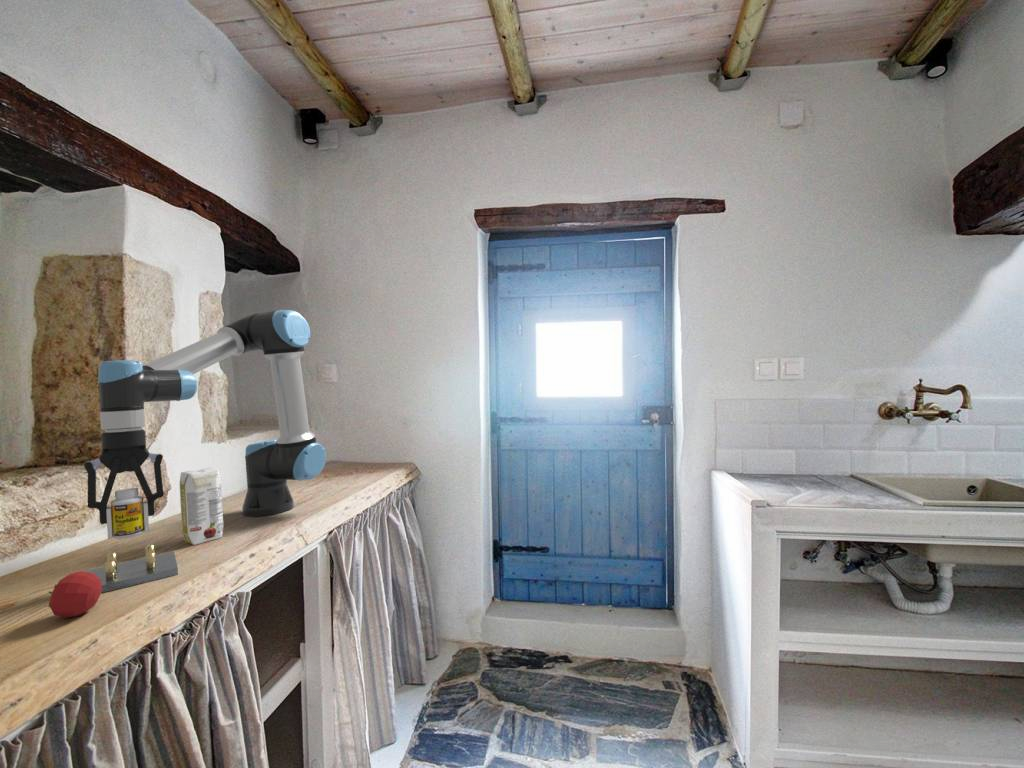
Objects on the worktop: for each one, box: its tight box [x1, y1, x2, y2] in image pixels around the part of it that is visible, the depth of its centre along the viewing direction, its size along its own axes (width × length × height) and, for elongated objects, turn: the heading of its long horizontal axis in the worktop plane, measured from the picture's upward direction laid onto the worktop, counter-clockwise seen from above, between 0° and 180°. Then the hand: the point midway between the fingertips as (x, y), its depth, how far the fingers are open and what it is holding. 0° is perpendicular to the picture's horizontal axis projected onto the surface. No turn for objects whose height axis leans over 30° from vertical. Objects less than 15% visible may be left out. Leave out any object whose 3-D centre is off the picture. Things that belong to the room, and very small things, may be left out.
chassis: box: [85, 544, 179, 594], centre depth 104 cm, size 16×14×5 cm
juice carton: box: [178, 467, 224, 546], centre depth 127 cm, size 8×9×19 cm
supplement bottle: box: [110, 487, 145, 540], centre depth 104 cm, size 6×6×10 cm
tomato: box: [48, 570, 102, 619], centre depth 87 cm, size 8×8×8 cm
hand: (129, 534), depth 104 cm, fingers closed on supplement bottle, 6 cm apart
